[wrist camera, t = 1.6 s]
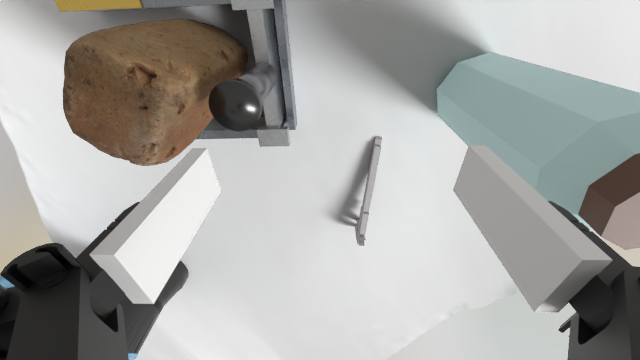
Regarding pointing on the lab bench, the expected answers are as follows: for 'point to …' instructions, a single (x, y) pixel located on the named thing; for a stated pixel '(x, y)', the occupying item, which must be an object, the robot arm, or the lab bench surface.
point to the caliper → (368, 192)
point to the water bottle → (554, 136)
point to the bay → (213, 130)
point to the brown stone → (147, 86)
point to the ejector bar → (255, 82)
